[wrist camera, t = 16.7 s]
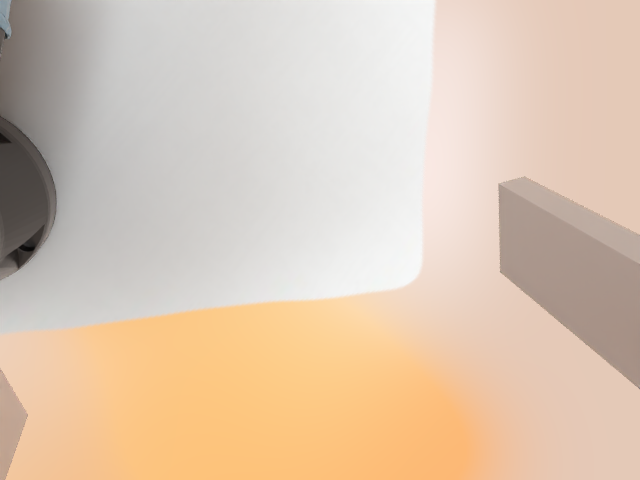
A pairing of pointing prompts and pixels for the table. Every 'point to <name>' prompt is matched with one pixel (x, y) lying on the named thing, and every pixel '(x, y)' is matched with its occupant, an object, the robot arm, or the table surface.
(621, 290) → the robot arm
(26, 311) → the table surface
